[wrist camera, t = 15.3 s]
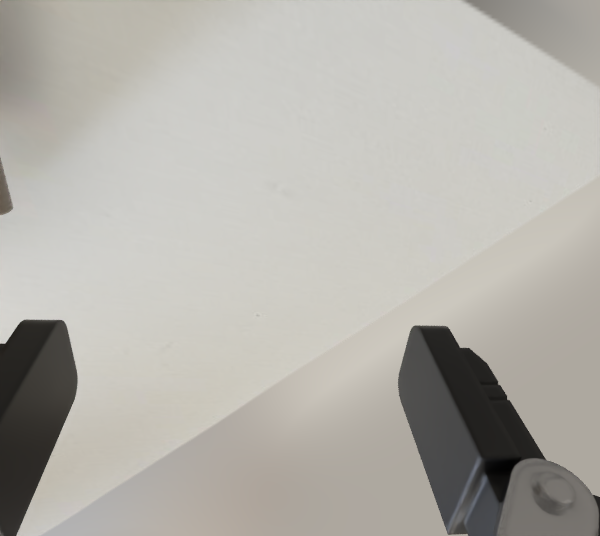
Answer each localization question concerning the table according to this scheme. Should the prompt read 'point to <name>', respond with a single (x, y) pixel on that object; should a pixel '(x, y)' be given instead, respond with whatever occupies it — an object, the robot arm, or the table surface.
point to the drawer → (4, 193)
